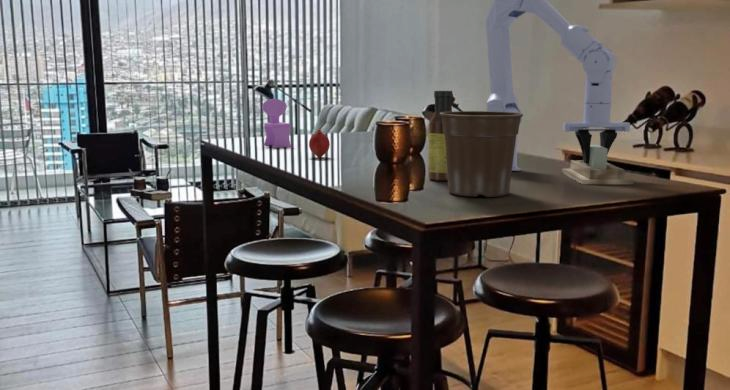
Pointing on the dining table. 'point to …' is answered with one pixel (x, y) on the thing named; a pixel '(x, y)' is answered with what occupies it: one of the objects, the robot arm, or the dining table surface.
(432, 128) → the sauce bottle
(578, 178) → the beige rectangular tray
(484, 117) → the plant pot
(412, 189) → the dining table surface
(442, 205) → the dining table surface
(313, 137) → the onion
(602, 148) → the pale teal block
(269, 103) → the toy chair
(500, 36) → the robot arm
